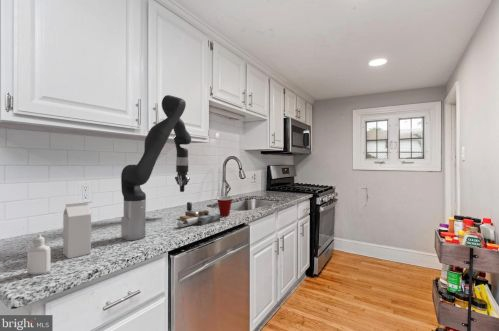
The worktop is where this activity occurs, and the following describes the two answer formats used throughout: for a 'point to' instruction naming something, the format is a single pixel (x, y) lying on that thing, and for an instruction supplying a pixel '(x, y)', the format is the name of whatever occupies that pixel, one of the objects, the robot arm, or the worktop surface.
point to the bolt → (189, 208)
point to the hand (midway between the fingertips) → (182, 191)
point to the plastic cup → (224, 205)
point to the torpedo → (187, 222)
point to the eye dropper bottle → (38, 257)
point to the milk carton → (76, 230)
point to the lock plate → (202, 217)
